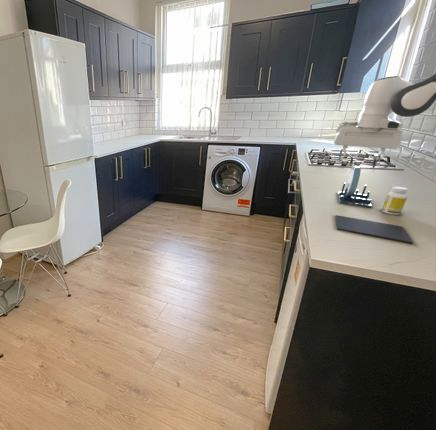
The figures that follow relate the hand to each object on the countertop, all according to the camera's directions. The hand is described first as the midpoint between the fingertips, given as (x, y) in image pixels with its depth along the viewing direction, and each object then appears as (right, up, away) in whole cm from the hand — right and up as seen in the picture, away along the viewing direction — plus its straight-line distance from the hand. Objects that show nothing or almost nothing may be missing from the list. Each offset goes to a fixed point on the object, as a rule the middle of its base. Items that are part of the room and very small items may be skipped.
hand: (359, 157), depth 115 cm
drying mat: (-16, -28, -21) cm, 39 cm away
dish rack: (+2, -17, +6) cm, 18 cm away
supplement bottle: (+5, -23, -8) cm, 24 cm away
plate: (0, -15, +6) cm, 17 cm away
